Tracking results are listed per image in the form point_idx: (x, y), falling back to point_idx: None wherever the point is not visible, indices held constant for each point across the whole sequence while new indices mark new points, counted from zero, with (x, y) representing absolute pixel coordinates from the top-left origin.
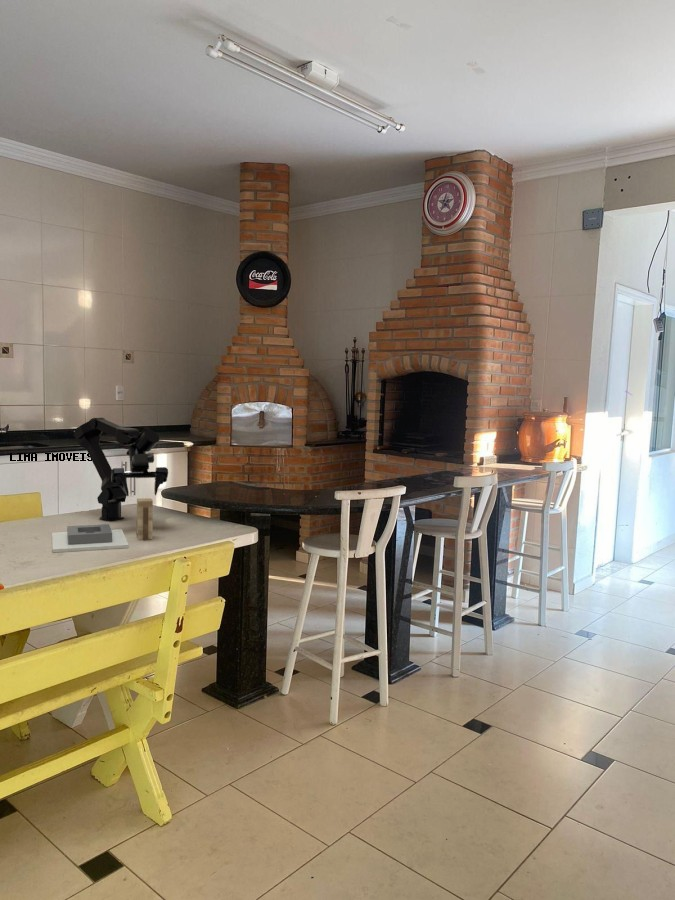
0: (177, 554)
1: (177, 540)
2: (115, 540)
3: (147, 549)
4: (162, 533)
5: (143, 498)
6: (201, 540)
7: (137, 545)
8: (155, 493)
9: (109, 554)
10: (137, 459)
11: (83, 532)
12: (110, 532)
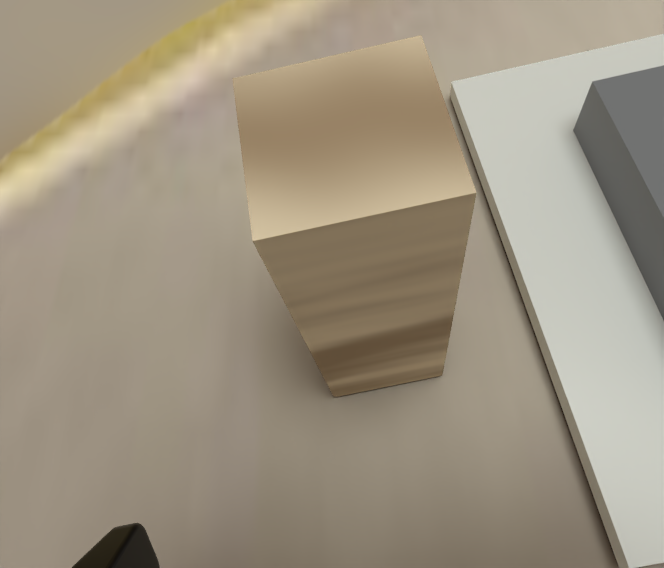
0: (190, 21)
1: (151, 278)
2: (564, 171)
3: None
4: (237, 506)
5: (368, 193)
6: (4, 276)
7: None
8: (135, 525)
9: (532, 4)
10: None
11: None
12: (611, 94)
